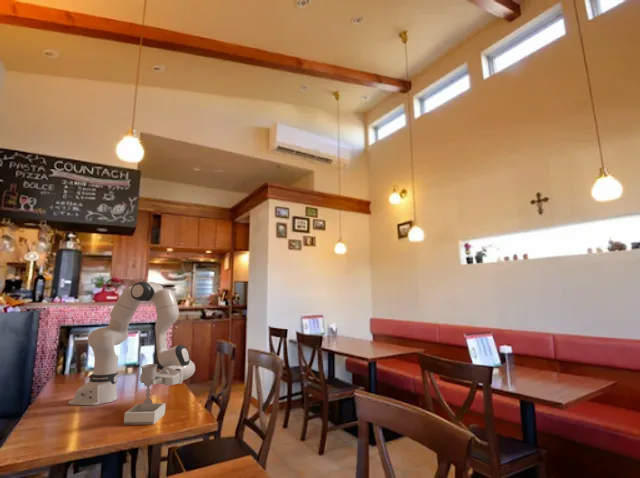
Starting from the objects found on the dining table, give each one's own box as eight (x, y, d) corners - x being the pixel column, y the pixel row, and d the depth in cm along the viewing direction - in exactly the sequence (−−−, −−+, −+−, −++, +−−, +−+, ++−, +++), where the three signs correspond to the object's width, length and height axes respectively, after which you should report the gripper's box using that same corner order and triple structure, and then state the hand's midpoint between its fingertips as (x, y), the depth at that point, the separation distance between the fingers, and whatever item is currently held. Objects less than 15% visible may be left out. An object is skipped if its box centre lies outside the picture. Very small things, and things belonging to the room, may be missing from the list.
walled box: (123, 424, 153) (124, 412, 154) (137, 414, 166) (138, 403, 167) (153, 424, 154) (154, 412, 155) (164, 414, 167) (165, 403, 167)
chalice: (138, 409, 156) (140, 368, 159) (138, 404, 162) (140, 365, 165) (156, 406, 160) (158, 366, 162) (155, 402, 166) (157, 363, 168)
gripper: (153, 367, 179) (130, 373, 166) (185, 370, 172) (164, 376, 159) (152, 380, 178) (129, 386, 165) (184, 383, 171) (163, 391, 158)
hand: (147, 381), depth 162 cm, fingers closed on chalice, 5 cm apart
